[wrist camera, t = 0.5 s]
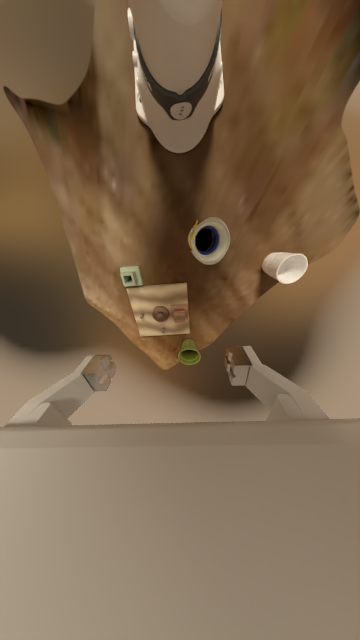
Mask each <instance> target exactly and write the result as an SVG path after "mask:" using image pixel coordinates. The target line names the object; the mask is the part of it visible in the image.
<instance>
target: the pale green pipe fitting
mask: <svg viewBox="0 0 360 640" xmlns="http://www.w3.org/2000/svg"><path fill="white" fill-rule="evenodd" d="M120 272H121V274H120V275H121V278H122V282H123V285H124V286H125V287H128V286H140V285H143V279H142V275H141V271H140V266H130V267H121V268H120ZM129 275H131V278H132V280H130V277H129Z"/></svg>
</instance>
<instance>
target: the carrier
mask: <svg viewBox="0 0 360 640" xmlns="http://www.w3.org/2000/svg"><path fill="white" fill-rule="evenodd" d="M127 293H128V296H129V299H130V303H131V306H132V309H133V313H134V316H135V319H136V323H137V326H138V329H139V333H140V336H157V335H173V334H189V333H190V325H189V310H188V295H187V282H186V283H174V284H163V285H151V286H139V287H128V288H127Z"/></svg>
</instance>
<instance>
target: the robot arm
mask: <svg viewBox="0 0 360 640" xmlns="http://www.w3.org/2000/svg"><path fill="white" fill-rule="evenodd" d="M222 2H223V0H128V3H129V7H130V8H129V9H128V23H129V30H130V35H131V38H132V39H133V40H134V51H133V53H132V54H133V63H134V67H135V94H136V110H137V114H138V117H139V118H140V119H141V121H143V122H144V123H145V124H146V125H148V126H149V127H150V128H151V130H152V132H153V133H154V135H155V137H156V138H157V140H158V141H159V142H160V144H161V145H162V146H163V147H165V148H166V149H167V150H169V151H171V152H174V153H184V152H187V151H189V150H191V149H193V148H194V147H195V146H196V145H197V144H198V143H199V142H200V140H201V139H202V138H203V136H204V134H205V132H206V130H207V128H208V125H209V123H210V120H211V118H212V117H213V115H214V114H215V113H216V112H217V111H218V109H219V108H220V107H221V105H222V103H223V98H224V85H223V72H222V59H221V46H220V33H221V21H222ZM140 100H141V102H142V103H140ZM226 354H227V355H226V357H225V365H226V369H227V371H228V372H229V378H230V381H231V384H232V385H246V387H247V388H248V389H250V391H251V392H252V393H253V394H254V395H255V396H256V397H257V398H258V399H259V400H260V401H261V402H262V403H263V404H264V405H266V407H268V409H269V410H270V413H269V415H268V417H267V419H266V421H241V422H239V421H238V422H198V423H197V422H195V423H153V424H115V425H114V424H112V425H72V424H71V422H70V421H69V420H68V419H67V418H68V417H69V416H70V415H71V414H73V413H74V411H76V410H77V409H78V408H79V407H80V406H81V405H82V404H83V403H84V402H85V401H86V400H87V399H88V398H89V397H90V396H91V395H92V394H93V393H94V391H106V390H107V389H108V387H109V385H110V383H111V380H110V379H111V378H112V377H113V376H114V374H115V372H116V365H115V363H114V362H113V361H111V360H112V357H111V355H89V356H87V357H86V358H85V359H84V360H83V362H82V363H81V364H80V366H79V367H78V368H77V369H76V370H75V372H74V373H73V374H72V375H69V376H67V377H65V378H64V379H62V380H61V381H60V382H58V383H56V384H55V385H53V386H51V387H50V388H48V389H47V390H46V391H44V392H42V393H41V394H39V395H38V396H36V397H34V398H33V399H31V400H30V401H28V402H27V403H26V404H25V405H24V406H23V407H22V408H21V409H20V410H19V411H18V412H17V413H16V414H15V415H14V417H13V418H12V419H11V420H10V421H9V422H8V423H7V424H6V425H5V426H4V427H0V640H360V418H358V419H329V418H328V416H327V415H326V414H325V413H324V411H323V410H322V409H321V408H320V406H319V405H318V404H317V403H316V401H315V400H314V399H313V398H312V396H311V395H310V394H309V393H308V392H307V391H305V390H304V389H302V388H300V387H299V386H297V385H296V384H294V383H292V382H291V381H289V380H288V379H286V378H285V377H283V376H281V375H280V374H278V373H276V372H275V371H274V370H272V369H270V368H269V367H267V366H266V365H262V364H261V362H260V361H259V359H258V357H257V356H256V354H255V352H254V351H253V349H252V348H251V347H250V346H243V347H228V348H226Z"/></svg>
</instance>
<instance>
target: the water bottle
mask: <svg viewBox="0 0 360 640" xmlns="http://www.w3.org/2000/svg"><path fill="white" fill-rule="evenodd" d="M197 222H198V220H197V221H196V224H195V225H194V226H193V228H192V229H191V231H190V233H189V236H188V243H189V246H190V249H192V251H191V252H192V254H193V255H194V256H195V258H196V259H197V260H199V261H200V262H201V263H203V264H206V265H213V264H216V263H218V262H219V261H220V260H221V259H222V258H223V257H224V255H225V254H226V252H227V250H228V248H229V244H230V234H229V230H228V228H227V226H226V224H225V223H224V222H223V221H222V220H221V219H219V218H216V217H211V218H207V219H205V220H204V221H202V222H201V223H200V224H198V225H197ZM202 229H209V230H211V231H212V234H213V240H212V244H211V246H210V247H209V248H208V249H207V250H206V251H200V250H199V249H198V248H197V247H196V244H195V239H196V236H197V234H198V232H199V231H200V230H202Z"/></svg>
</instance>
